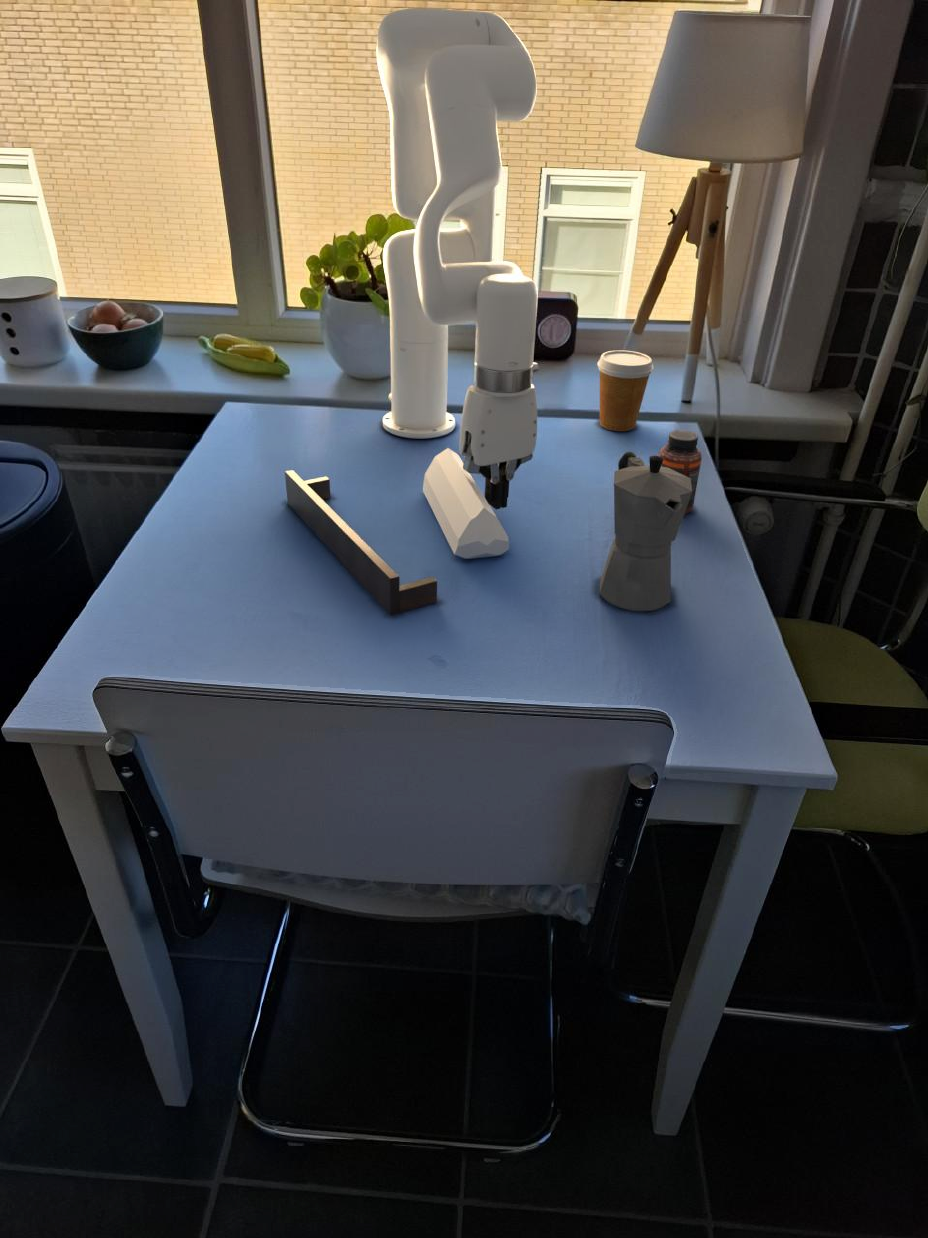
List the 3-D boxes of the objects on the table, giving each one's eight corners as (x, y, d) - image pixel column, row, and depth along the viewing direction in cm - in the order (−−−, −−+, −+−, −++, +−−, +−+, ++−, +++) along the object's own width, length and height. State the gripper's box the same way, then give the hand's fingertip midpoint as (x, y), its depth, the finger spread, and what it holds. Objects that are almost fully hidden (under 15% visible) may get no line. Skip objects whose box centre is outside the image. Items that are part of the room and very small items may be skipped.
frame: (287, 503, 126) (284, 471, 123) (327, 495, 128) (325, 463, 126) (390, 615, 102) (390, 578, 99) (437, 602, 105) (437, 566, 102)
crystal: (529, 534, 112) (480, 459, 131) (483, 512, 108) (440, 439, 128) (499, 580, 114) (455, 500, 134) (453, 560, 111) (415, 482, 130)
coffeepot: (692, 617, 104) (722, 477, 94) (618, 625, 102) (640, 483, 92) (642, 554, 116) (663, 425, 106) (575, 561, 114) (590, 429, 104)
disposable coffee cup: (592, 413, 160) (600, 347, 154) (645, 418, 159) (655, 352, 152) (588, 431, 153) (596, 363, 146) (643, 437, 151) (653, 368, 145)
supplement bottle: (694, 503, 130) (708, 430, 124) (689, 520, 125) (703, 445, 119) (654, 496, 131) (666, 424, 125) (648, 512, 127) (659, 438, 121)
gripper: (533, 361, 120) (524, 484, 130) (438, 376, 113) (437, 505, 123) (566, 377, 114) (554, 504, 124) (469, 393, 108) (464, 527, 118)
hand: (496, 504), depth 124 cm, fingers closed
